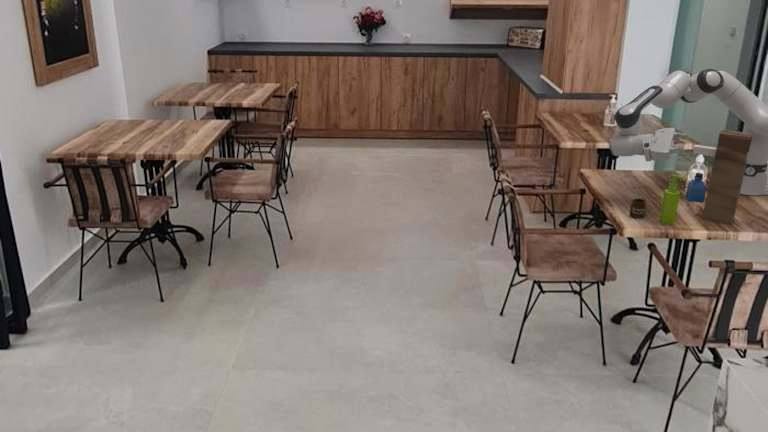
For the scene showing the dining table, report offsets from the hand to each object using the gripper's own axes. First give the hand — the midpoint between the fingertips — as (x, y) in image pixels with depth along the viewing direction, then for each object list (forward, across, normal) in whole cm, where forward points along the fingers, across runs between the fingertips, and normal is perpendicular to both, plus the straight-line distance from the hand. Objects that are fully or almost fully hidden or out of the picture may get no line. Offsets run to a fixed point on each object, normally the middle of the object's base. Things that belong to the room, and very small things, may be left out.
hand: (684, 142), depth 268 cm
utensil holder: (-18, +23, -21) cm, 36 cm away
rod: (+12, +1, -7) cm, 14 cm away
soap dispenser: (-6, +23, -24) cm, 34 cm away
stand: (+11, +10, -32) cm, 35 cm away
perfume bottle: (-1, -10, -37) cm, 38 cm away
